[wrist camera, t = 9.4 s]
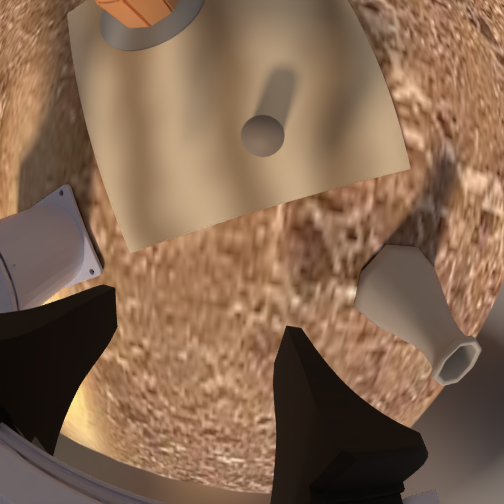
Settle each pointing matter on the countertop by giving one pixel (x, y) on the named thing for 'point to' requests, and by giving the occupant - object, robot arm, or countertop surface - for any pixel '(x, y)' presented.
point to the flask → (415, 310)
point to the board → (230, 109)
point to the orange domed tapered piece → (138, 11)
